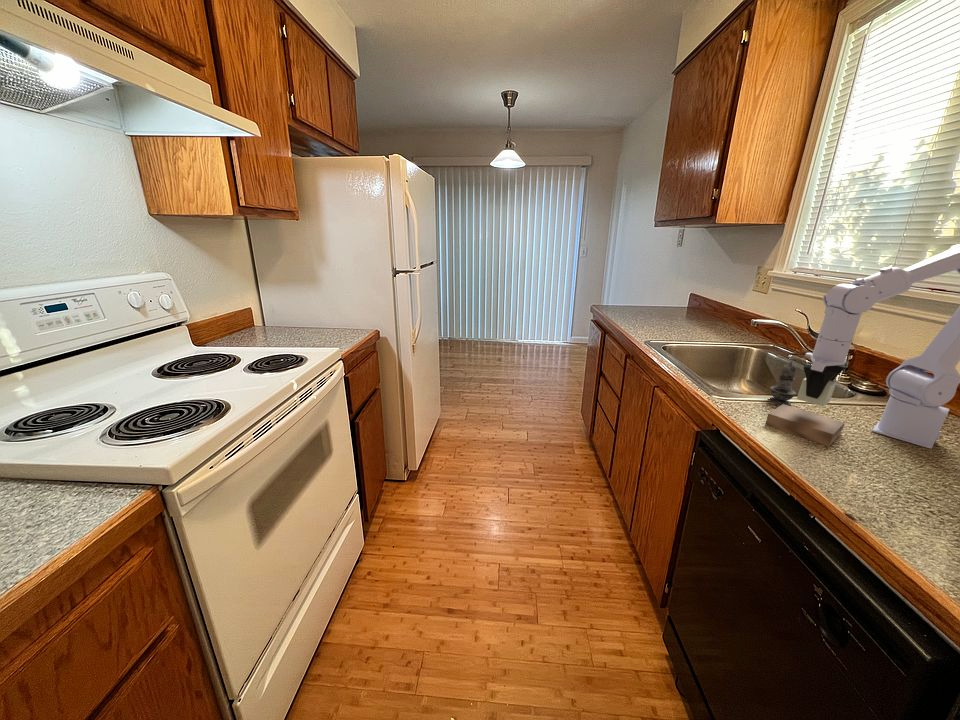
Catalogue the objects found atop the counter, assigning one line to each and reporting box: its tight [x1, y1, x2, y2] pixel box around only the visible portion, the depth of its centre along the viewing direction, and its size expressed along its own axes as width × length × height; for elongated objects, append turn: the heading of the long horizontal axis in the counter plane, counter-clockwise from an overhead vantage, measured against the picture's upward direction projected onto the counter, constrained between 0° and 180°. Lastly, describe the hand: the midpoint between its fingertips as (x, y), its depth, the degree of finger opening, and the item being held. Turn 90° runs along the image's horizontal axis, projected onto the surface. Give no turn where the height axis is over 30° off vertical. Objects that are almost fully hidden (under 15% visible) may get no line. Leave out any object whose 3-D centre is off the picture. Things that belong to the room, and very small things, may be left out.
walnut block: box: [764, 404, 845, 447], centre depth 90 cm, size 12×10×3 cm
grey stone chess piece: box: [767, 361, 797, 407], centre depth 104 cm, size 6×6×12 cm
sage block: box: [796, 377, 837, 408], centre depth 89 cm, size 5×5×5 cm
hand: (815, 394), depth 89 cm, fingers closed on sage block, 5 cm apart
